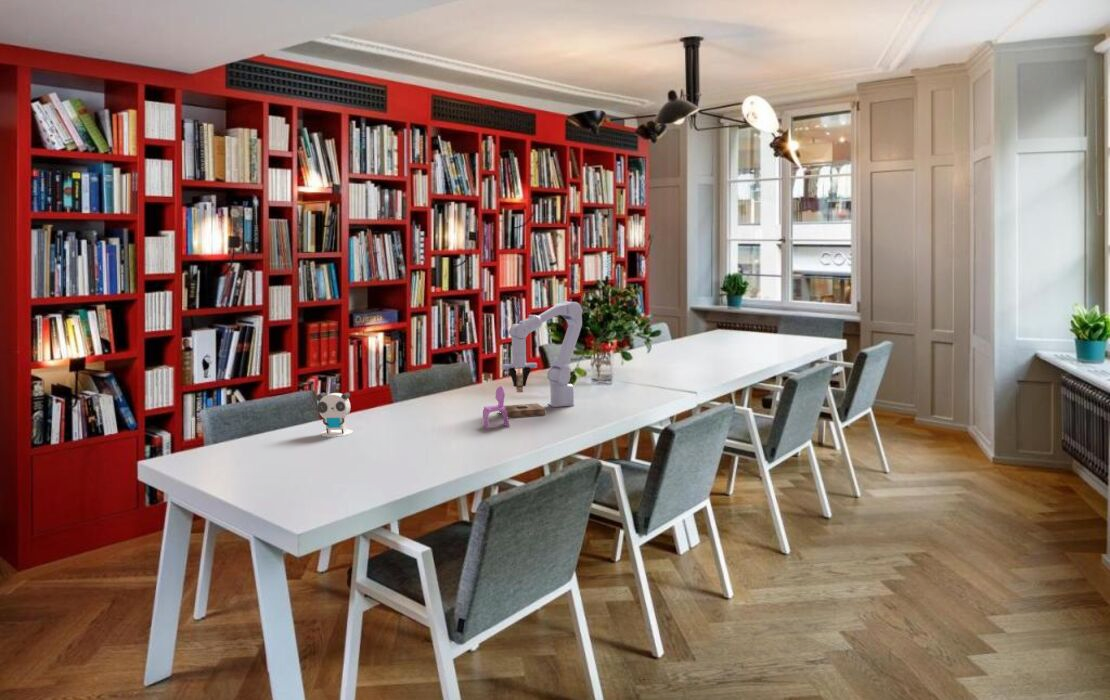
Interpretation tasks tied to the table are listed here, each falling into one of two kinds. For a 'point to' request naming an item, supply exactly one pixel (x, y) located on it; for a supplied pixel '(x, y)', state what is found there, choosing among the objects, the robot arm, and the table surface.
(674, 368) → the table surface
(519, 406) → the board
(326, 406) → the panda figurine
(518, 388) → the peg
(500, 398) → the toy chair
